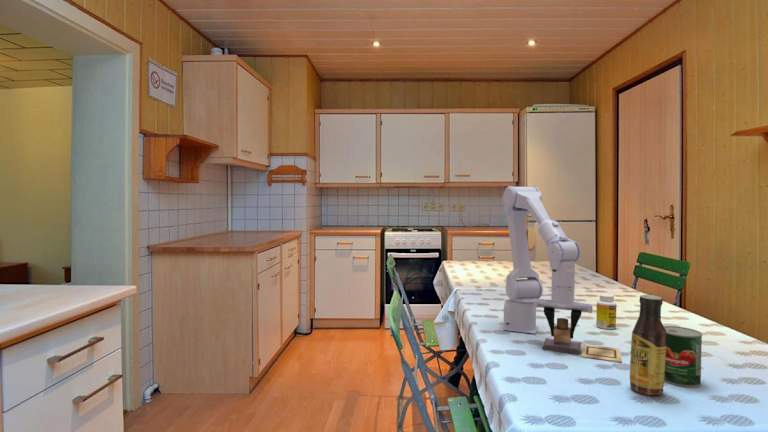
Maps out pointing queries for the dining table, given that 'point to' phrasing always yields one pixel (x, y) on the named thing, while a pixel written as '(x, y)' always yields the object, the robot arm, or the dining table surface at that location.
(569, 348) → the ink pad
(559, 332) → the stamp
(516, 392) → the dining table surface
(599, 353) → the card sheet
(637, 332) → the sauce bottle
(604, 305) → the supplement bottle
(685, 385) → the canned tomato
